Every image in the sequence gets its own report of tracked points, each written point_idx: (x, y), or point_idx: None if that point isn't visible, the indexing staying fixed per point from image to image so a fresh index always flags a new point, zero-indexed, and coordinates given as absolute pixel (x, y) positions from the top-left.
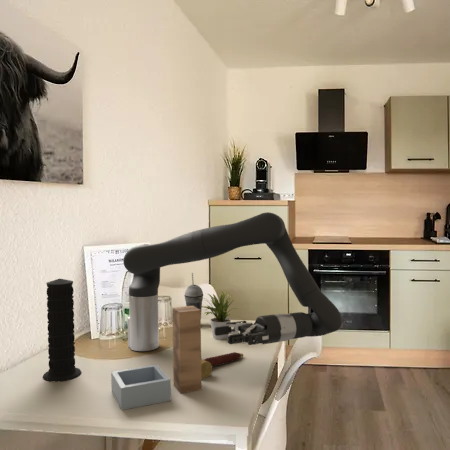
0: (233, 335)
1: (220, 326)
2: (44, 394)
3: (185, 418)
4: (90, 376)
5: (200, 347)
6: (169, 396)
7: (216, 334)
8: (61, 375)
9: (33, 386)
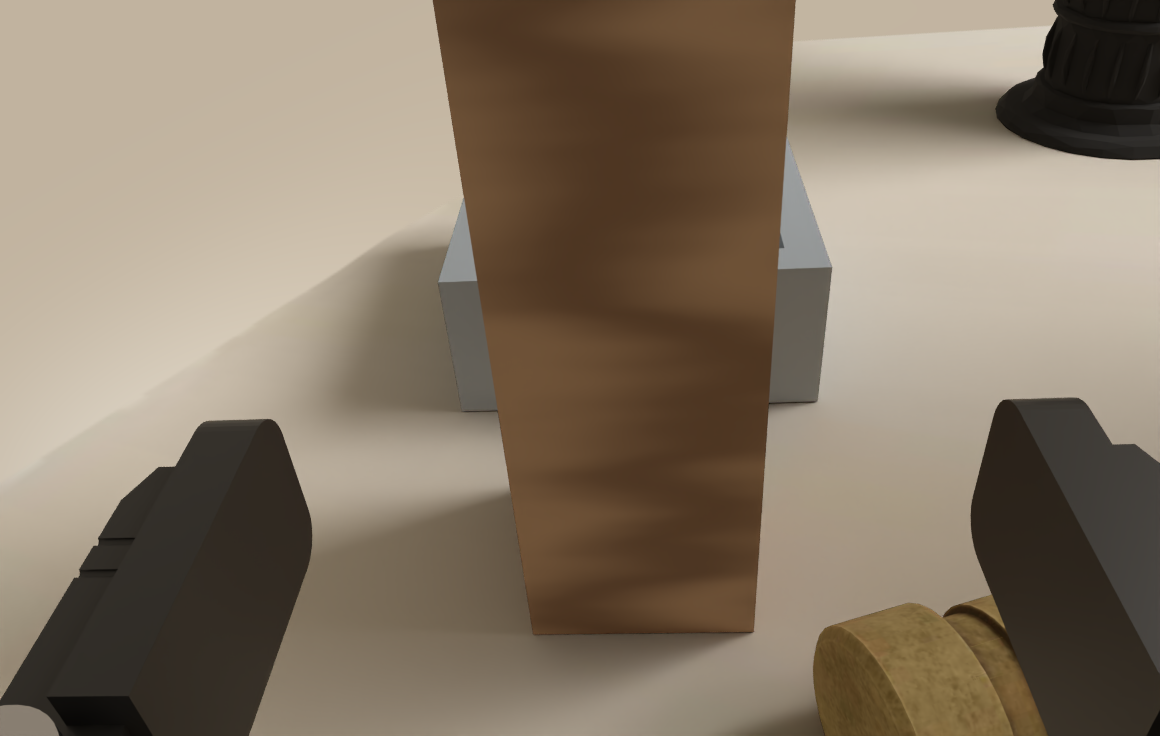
0: (164, 490)
1: (1134, 497)
2: (837, 91)
3: (167, 421)
4: (1059, 181)
5: (475, 267)
6: (458, 380)
7: (982, 526)
8: (1033, 96)
9: (950, 70)
